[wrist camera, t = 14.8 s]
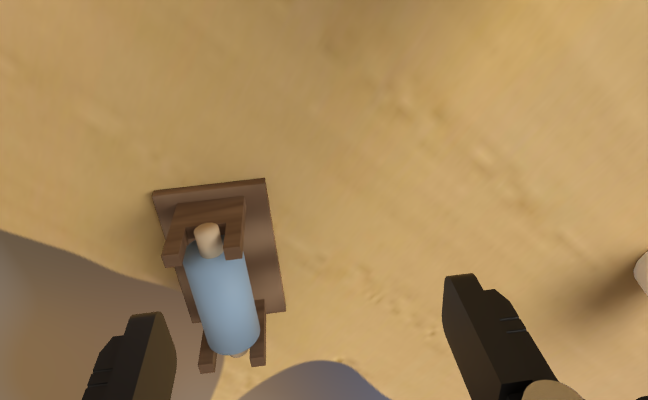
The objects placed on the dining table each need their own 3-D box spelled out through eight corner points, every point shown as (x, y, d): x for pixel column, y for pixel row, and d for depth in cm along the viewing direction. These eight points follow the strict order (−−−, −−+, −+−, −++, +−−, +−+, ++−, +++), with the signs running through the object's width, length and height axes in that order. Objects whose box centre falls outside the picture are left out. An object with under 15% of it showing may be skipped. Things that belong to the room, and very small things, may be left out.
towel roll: (173, 220, 40) (176, 256, 35) (232, 206, 41) (241, 239, 37) (209, 338, 47) (215, 377, 43) (258, 323, 48) (268, 361, 44)
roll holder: (154, 190, 42) (130, 248, 35) (264, 178, 43) (263, 232, 36) (193, 316, 51) (181, 383, 44) (285, 304, 51) (288, 369, 44)
